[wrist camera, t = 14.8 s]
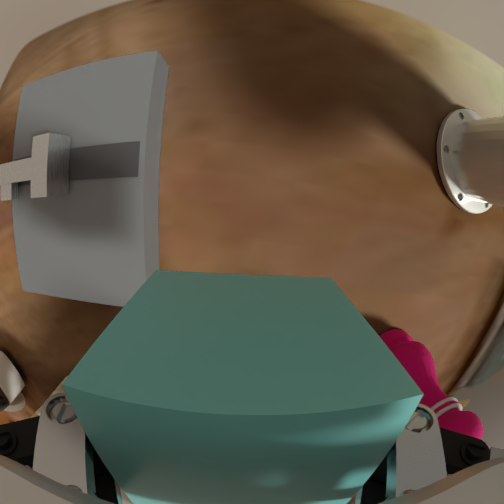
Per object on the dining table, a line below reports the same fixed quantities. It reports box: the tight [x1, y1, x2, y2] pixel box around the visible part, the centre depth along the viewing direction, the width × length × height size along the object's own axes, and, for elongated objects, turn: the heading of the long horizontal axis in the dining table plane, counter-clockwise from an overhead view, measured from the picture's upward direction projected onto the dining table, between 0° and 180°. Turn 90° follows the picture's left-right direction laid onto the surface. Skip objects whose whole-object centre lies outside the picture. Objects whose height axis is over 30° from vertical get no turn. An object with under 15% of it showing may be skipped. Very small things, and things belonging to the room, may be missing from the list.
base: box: [12, 51, 169, 307], centre depth 21 cm, size 16×22×4 cm
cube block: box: [62, 270, 423, 504], centre depth 7 cm, size 6×6×6 cm
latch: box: [0, 133, 71, 201], centre depth 17 cm, size 10×5×3 cm, turn 87°
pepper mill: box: [379, 329, 483, 440], centre depth 19 cm, size 7×7×20 cm
